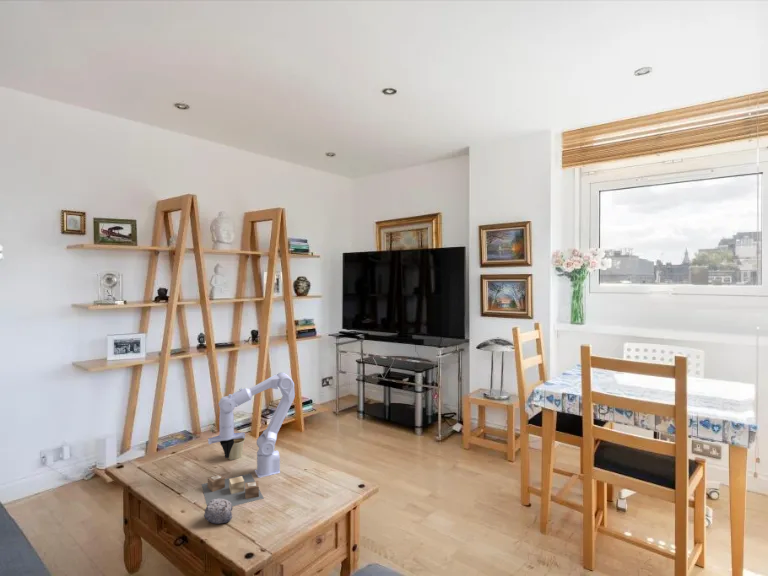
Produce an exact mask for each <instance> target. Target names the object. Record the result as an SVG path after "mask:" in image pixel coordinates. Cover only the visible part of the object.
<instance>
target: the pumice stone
mask: <svg viewBox="0 0 768 576" xmlns="http://www.w3.org/2000/svg"><path fill="white" fill-rule="evenodd" d="M232 511H233V506H232V503H231V502H230V501H228V500H226V499H213V500H211V501H210V502H209V503H208V505H207V504H206V507H205V509H204V514H203V517H204V518H205V520H206V521H207V522H209V523H211V524H216V525H218V524H226V523H228V522H230V521H231V520H232V518H233V513H232Z"/></svg>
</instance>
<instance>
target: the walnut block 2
mask: <svg viewBox="0 0 768 576" xmlns="http://www.w3.org/2000/svg"><path fill="white" fill-rule="evenodd" d="M259 490H260V486H259V480H255V481H254V482H248V483H245V499H249V498H255V497H259Z"/></svg>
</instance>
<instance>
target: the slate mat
mask: <svg viewBox="0 0 768 576" xmlns="http://www.w3.org/2000/svg"><path fill="white" fill-rule="evenodd" d="M240 476H242V477H243V479H244V491H242V492H238V493H234V494H231V492H230V489H229V479H231V478H235V477H240ZM254 481H256V480H255V479H254V477H253V475H252V473H250V472H249V473H245V474H241V475H236V476H233V477H228V478H225V488H222V489H219V490H217V491H214V492H212V491H211V490H210V489H209V488H208V482H205V483H201V484H200V485H201V488H202V493H203V496H204V500H205V504H206V506H207V505H208V503H209V502H210V501H211V500H213V499H226V500H228V501H230V502H231V503H232V507H236V506H240V505H243V504H248V503H252V502H256V501H259V500H260V501H261V500H264V496H263V494H262V492H261V491H260V489H259V497H255V498H249V499H245V483H248V482H254Z"/></svg>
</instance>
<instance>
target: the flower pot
mask: <svg viewBox="0 0 768 576" xmlns="http://www.w3.org/2000/svg"><path fill="white" fill-rule="evenodd" d="M245 441H246V437H245V438H239V439H234V444H233V446H232V448H231V451H230V455H229V458H227V459H228V460H230V461H236V460H239V459H241V458H242V457H243V449H244V443H245Z"/></svg>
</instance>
